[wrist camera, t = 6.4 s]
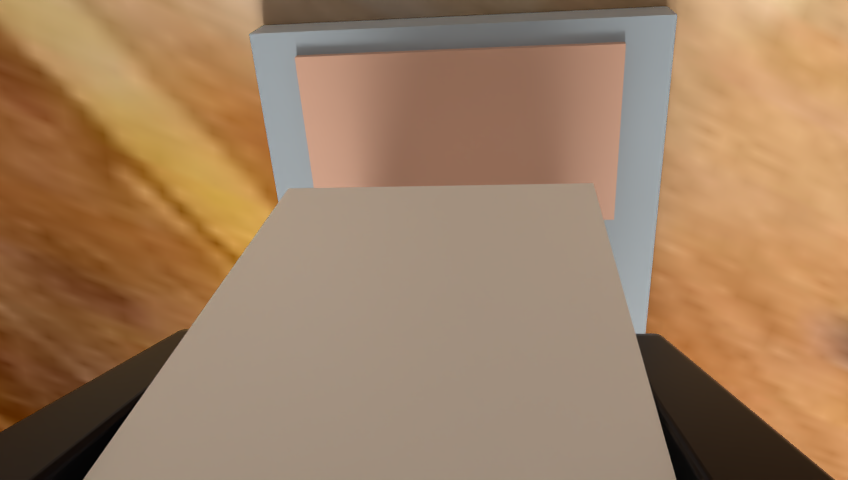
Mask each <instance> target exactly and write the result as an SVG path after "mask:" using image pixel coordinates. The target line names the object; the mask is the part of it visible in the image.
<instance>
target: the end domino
mask: <svg viewBox="0 0 848 480" xmlns="http://www.w3.org/2000/svg"><path fill="white" fill-rule="evenodd" d="M83 480H676V477H675V473H674V470H673V466H672V462H671V459H670V455H669V452H668V448H667V445H666V441H665V437H664V434H663V430H662V427H661V423H660V420H659V416H658V412H657V409H656V405H655V402H654V398H653V395H652V391H651V387H650V384H649V380H648V377H647V373H646V370H645V366H644V363H643V359H642V355H641V352H640V348H639V345H638V341H637V338H636V334H635V330H634V327H633V323H632V320H631V316H630V313H629V309H628V305H627V302H626V298H625V295H624V291H623V288H622V284H621V280H620V277H619V273H618V270H617V266H616V263H615V259H614V256H613V252H612V248H611V245H610V241H609V238H608V234H607V231H606V227H605V223H604V220H603V216H602V213H601V209H600V206H599V202H598V198H597V195H596V191H595V188H594V184H593V183H571V184H514V185H456V186H399V187H342V188H288V190H287V191H286V193H285V194H284V195H283V197H282V198H281V200H280V201H279V202H278V204H277V205H276V207H275V208H274V210H273V211H272V212H271V214H270V215H269V217H268V218H267V219H266V221H265V222H264V224H263V225H262V227H261V228H260V229H259V231H258V232H257V234H256V235H255V237H254V238H253V239H252V241H251V242H250V244H249V245H248V246H247V248H246V249H245V251H244V252H243V254H242V255H241V256H240V258H239V259H238V261H237V262H236V263H235V265H234V266H233V268H232V269H231V271H230V272H229V273H228V275H227V276H226V278H225V279H224V280H223V282H222V283H221V285H220V286H219V288H218V289H217V290H216V292H215V293H214V295H213V296H212V297H211V299H210V300H209V302H208V303H207V305H206V306H205V307H204V309H203V310H202V312H201V313H200V314H199V316H198V317H197V319H196V320H195V322H194V323H193V324H192V326H191V327H190V329H189V330H188V332H187V333H186V334H185V336H184V337H183V339H182V340H181V341H180V343H179V344H178V346H177V347H176V349H175V350H174V351H173V353H172V354H171V356H170V357H169V358H168V360H167V361H166V363H165V364H164V366H163V367H162V368H161V370H160V371H159V373H158V374H157V375H156V377H155V378H154V380H153V381H152V383H151V384H150V385H149V387H148V388H147V390H146V391H145V392H144V394H143V395H142V397H141V398H140V400H139V401H138V402H137V404H136V405H135V407H134V408H133V409H132V411H131V412H130V414H129V415H128V417H127V418H126V419H125V421H124V422H123V424H122V425H121V427H120V428H119V429H118V431H117V432H116V434H115V435H114V436H113V438H112V439H111V441H110V442H109V444H108V445H107V446H106V448H105V449H104V451H103V452H102V453H101V455H100V456H99V458H98V459H97V461H96V462H95V463H94V465H93V466H92V468H91V469H90V470H89V472H88V473H87V475H86V476H85V478H84V479H83Z"/></svg>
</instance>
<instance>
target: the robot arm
mask: <svg viewBox="0 0 848 480" xmlns="http://www.w3.org/2000/svg"><path fill="white" fill-rule="evenodd" d="M188 330H189V329H184V330H180V331H178V332H176V333H175V334H173V335H171V336H169V337H167V338H166V339H164V340H162V341H160V342H159V343H157V344H155V345H153V346H152V347H150V348H148V349H146V350H145V351H143V352H141V353H139V354H137V355H136V356H134V357H132V358H130V359H129V360H127V361H125V362H123V363H122V364H120V365H118V366H116V367H115V368H113V369H111V370H109V371H107V372H106V373H104V374H102V375H100V376H99V377H97V378H95V379H93V380H92V381H90V382H88V383H86V384H85V385H83V386H81V387H79V388H77V389H76V390H74V391H72V392H70V393H69V394H67V395H65V396H63V397H62V398H60V399H58V400H56V401H55V402H53V403H51V404H49V405H47V406H46V407H44V408H42V409H40V410H39V411H37V412H35V413H33V414H32V415H30V416H28V417H26V418H25V419H23V420H21V421H19V422H17V423H16V424H14V425H12V426H10V427H9V428H7V429H5V430H3V431H2V432H0V480H83V479H84V478H85V476H86V475H87V473H88V472H89V470H90V469H91V468H92V466H93V465H94V463H95V462H96V461H97V459H98V458H99V456H100V455H101V453H102V452H103V451H104V449H105V448H106V446H107V445H108V444H109V442H110V441H111V439H112V438H113V436H114V435H115V434H116V432H117V431H118V429H119V428H120V427H121V425H122V424H123V422H124V421H125V419H126V418H127V417H128V415H129V414H130V412H131V411H132V409H133V408H134V407H135V405H136V404H137V402H138V401H139V400H140V398H141V397H142V395H143V394H144V392H145V391H146V390H147V388H148V387H149V385H150V384H151V383H152V381H153V380H154V378H155V377H156V375H157V374H158V373H159V371H160V370H161V368H162V367H163V366H164V364H165V363H166V361H167V360H168V358H169V357H170V356H171V354H172V353H173V351H174V350H175V349H176V347H177V346H178V344H179V343H180V341H181V340H182V339H183V337H184V336H185V334H186V333H187V332H188ZM636 338H637V341H638V345H639V348H640V352H641V355H642V359H643V363H644V366H645V370H646V373H647V377H648V380H649V384H650V387H651V391H652V395H653V398H654V402H655V405H656V409H657V412H658V416H659V420H660V423H661V427H662V430H663V434H664V437H665V441H666V445H667V448H668V452H669V455H670V459H671V462H672V466H673V470H674V473H675V477H676V480H835V479H833V478H832V477H831V476H830V475H829V474H827V473H826V472H825V471H824V470H823V469H821V468H820V467H819V466H818V465H817V464H815V463H814V462H813V461H812V460H811V459H809V458H808V457H807V456H806V455H804V454H803V453H802V452H801V451H800V450H798V449H797V448H796V447H795V446H794V445H792V444H791V443H790V442H789V441H788V440H786V439H785V438H784V437H783V436H782V435H780V434H779V433H778V432H777V431H776V430H774V429H773V428H772V427H771V426H770V425H768V424H767V423H766V422H765V421H764V420H762V419H761V418H760V417H759V416H758V415H756V414H755V413H754V412H753V411H752V410H750V409H749V408H748V407H747V406H746V405H744V404H743V403H742V402H741V401H740V400H738V399H737V398H736V397H735V396H734V395H732V394H731V393H730V392H729V391H728V390H726V389H725V388H724V387H723V386H722V385H720V384H719V383H718V382H717V381H716V380H714V379H713V378H712V377H711V376H709V375H708V374H707V373H706V372H705V371H703V370H702V369H701V368H700V367H699V366H697V365H696V364H695V363H694V362H693V361H691V360H690V359H689V358H688V357H687V356H685V355H684V354H683V353H682V352H681V351H679V350H678V349H677V348H676V347H675V346H673V345H672V344H671V343H670V342H669V341H667V340H666V339H665V338H664V337H662V336H661V335H659V334H636Z"/></svg>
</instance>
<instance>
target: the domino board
mask: <svg viewBox="0 0 848 480" xmlns="http://www.w3.org/2000/svg"><path fill="white" fill-rule="evenodd" d="M676 21H677V14H676V13H675V12H674V11H672V10H671V9H670V8H669V7H668V6H662V7H641V8H620V9H598V10H577V11H556V12H535V13H514V14H492V15H471V16H450V17H429V18H407V19H386V20H365V21H344V22H322V23H301V24H280V25H263V26H261V27H260V28H258V29H257V30H255V31H253V32H252V33H250V34H249V36H250V42H251V47H252V53H253V59H254V65H255V70H256V76H257V82H258V87H259V93H260V99H261V105H262V110H263V116H264V122H265V127H266V133H267V139H268V145H269V150H270V156H271V162H272V167H273V173H274V179H275V185H276V190H277V196H278V202H279V201H280V200H281V198H282V197H283V195H284V194H285V193H286V191H287V190H288V188H342V187H399V186H456V185H514V184H571V183H593V184H594V188H595V191H596V195H597V198H598V202H599V206H600V209H601V213H602V216H603V220H604V223H605V227H606V231H607V234H608V238H609V241H610V245H611V248H612V252H613V256H614V259H615V263H616V266H617V270H618V273H619V277H620V280H621V284H622V288H623V291H624V295H625V298H626V302H627V305H628V309H629V313H630V316H631V320H632V323H633V327H634V330H635V334H645V333H646V322H647V312H648V302H649V292H650V282H651V272H652V262H653V252H654V242H655V232H656V222H657V212H658V202H659V192H660V182H661V172H662V162H663V152H664V142H665V132H666V122H667V112H668V102H669V92H670V82H671V72H672V62H673V51H674V41H675V31H676Z"/></svg>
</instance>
